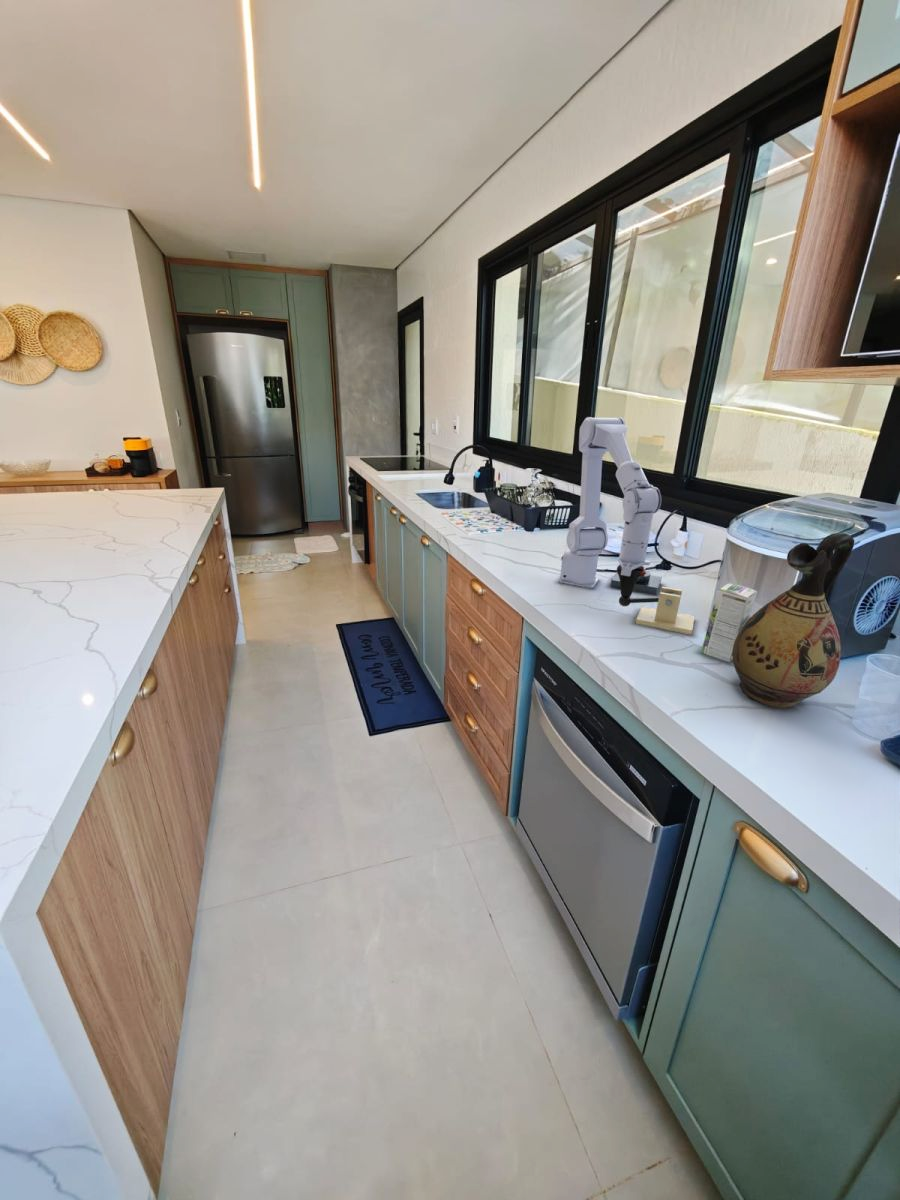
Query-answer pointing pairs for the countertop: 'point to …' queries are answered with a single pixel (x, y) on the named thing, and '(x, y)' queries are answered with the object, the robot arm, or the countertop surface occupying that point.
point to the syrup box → (728, 620)
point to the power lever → (638, 599)
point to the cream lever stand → (667, 613)
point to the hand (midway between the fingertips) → (625, 595)
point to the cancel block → (641, 583)
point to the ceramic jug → (794, 631)
